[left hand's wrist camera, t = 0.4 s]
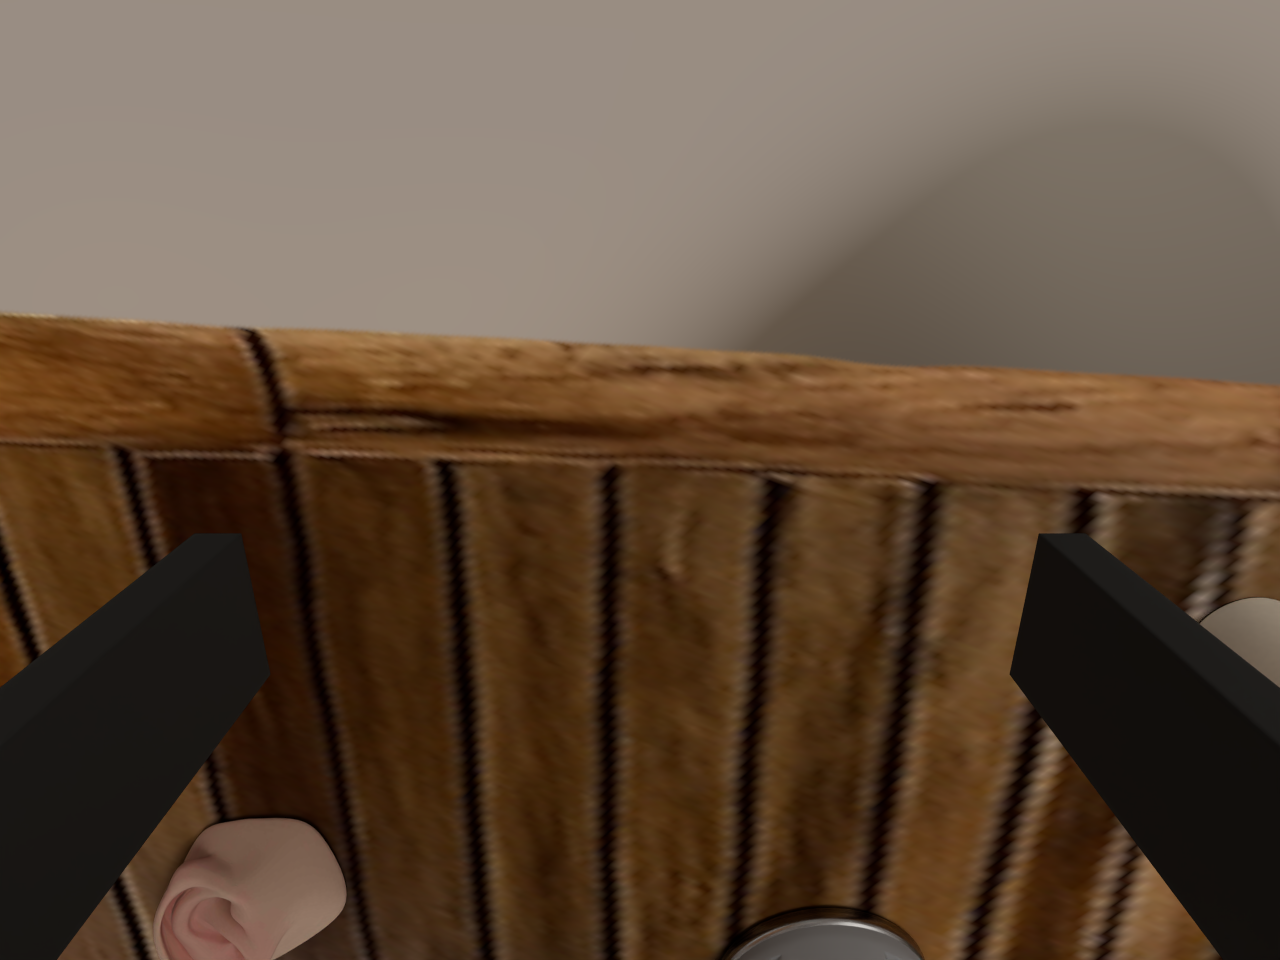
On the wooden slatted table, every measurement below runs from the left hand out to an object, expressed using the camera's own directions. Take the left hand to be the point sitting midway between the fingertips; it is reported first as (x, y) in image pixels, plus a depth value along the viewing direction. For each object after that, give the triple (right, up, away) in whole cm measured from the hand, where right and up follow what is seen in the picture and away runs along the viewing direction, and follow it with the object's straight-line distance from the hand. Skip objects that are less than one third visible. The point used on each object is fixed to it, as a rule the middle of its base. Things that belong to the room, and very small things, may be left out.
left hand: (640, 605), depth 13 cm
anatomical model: (-26, -25, +39) cm, 53 cm away
